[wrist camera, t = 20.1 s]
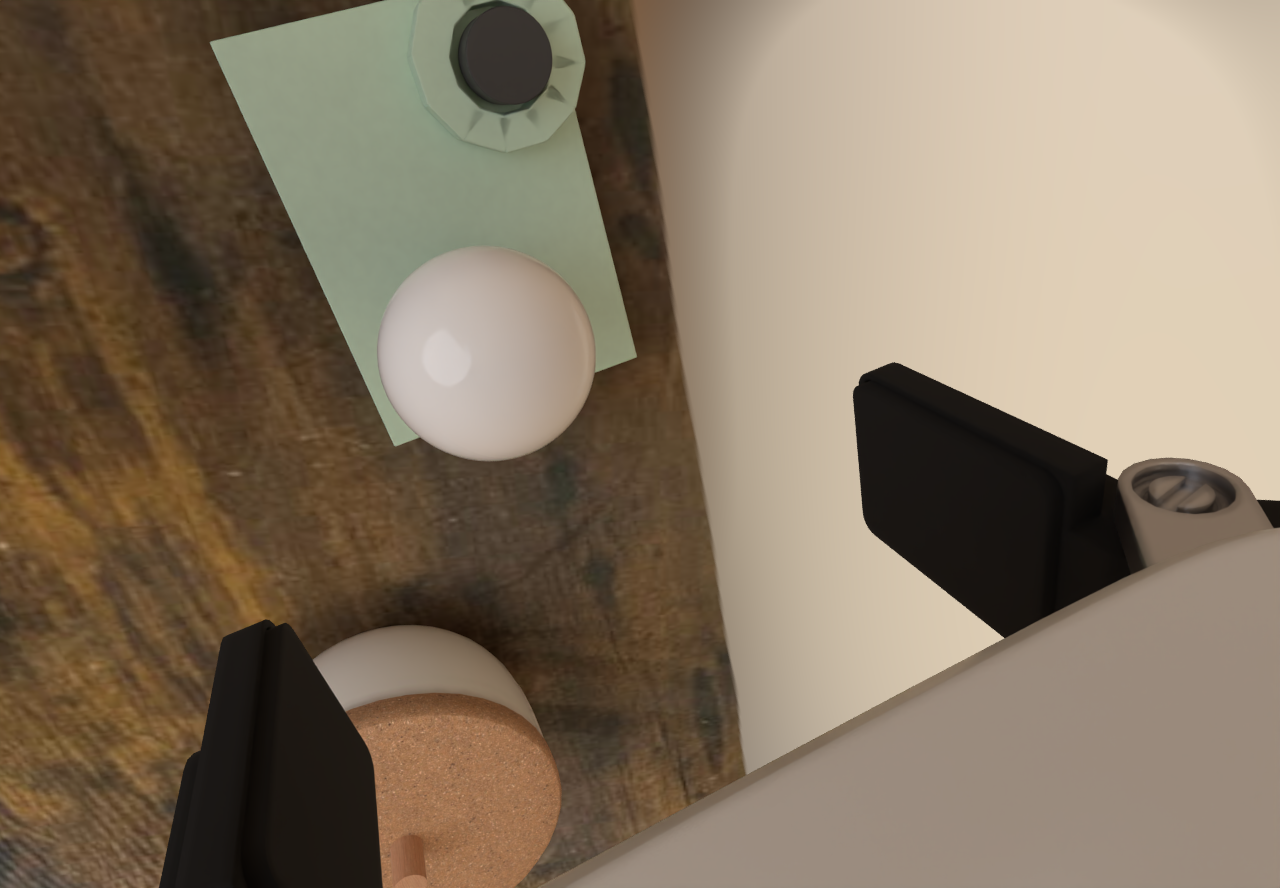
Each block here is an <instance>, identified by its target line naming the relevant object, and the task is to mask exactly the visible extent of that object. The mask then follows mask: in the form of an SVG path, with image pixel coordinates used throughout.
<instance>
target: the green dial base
mask: <svg viewBox="0 0 1280 888" xmlns="http://www.w3.org/2000/svg"><path fill="white" fill-rule="evenodd" d="M497 6H512V7H516V8H519V9H521V10H524V11H525V12H527V13H529V14H530V15H531V16H533V17H534V18H535V19H536V20H537V21H538V22H539V23H540V25H541V26H542V27H543V29H544V31H545V32H546V34H547V37H548V39H549V42H550V45H551V50H552V58H553V60H552V71H551V74H550V78H549V80H548V82H547V84H546V86H545V88H544V89H543V90H542V92H541V93H540V94H539V95H538V96H536V97H535V98H534V99H532V100H530V101H528V102H526V103H523V104H518V105H497V104H493V103H490V102H487V101H485V100H483V99H482V98H480V97H479V96H478V95H476V94H475V93H474V92H473V91H472V90H471V88H470V87H469V86H468V84H467V83H466V81H465V79H464V77H463V75H462V73H461V70H460V66H459V61H458V47H459V42H460V38H461V36H462V33H463V31H464V30H465V28H466V27H467V25H468V24H469V23H470V22H471V21H472V20H473V19H475V18H476V17H477V16H479V15H480V14H482V13H483V12H485V11H487V10H489V9H491V8H494V7H497ZM210 44H211V47H212V49H213V51H214V53H215V55H216V58H217V60H218V62H219V64H220V66H221V68H222V71H223V73H224V75H225V77H226V79H227V82H228V84H229V86H230V88H231V90H232V92H233V95H234V97H235V99H236V101H237V103H238V106H239V108H240V110H241V112H242V114H243V116H244V119H245V121H246V123H247V125H248V127H249V130H250V132H251V134H252V136H253V138H254V141H255V143H256V145H257V147H258V149H259V151H260V154H261V156H262V158H263V160H264V162H265V165H266V167H267V169H268V171H269V173H270V175H271V178H272V180H273V182H274V184H275V186H276V189H277V191H278V193H279V195H280V197H281V199H282V202H283V204H284V206H285V208H286V210H287V213H288V215H289V217H290V219H291V221H292V223H293V226H294V228H295V230H296V232H297V234H298V237H299V239H300V241H301V243H302V245H303V248H304V250H305V252H306V254H307V256H308V258H309V261H310V263H311V265H312V267H313V269H314V272H315V274H316V276H317V278H318V280H319V282H320V285H321V287H322V289H323V291H324V293H325V296H326V298H327V300H328V302H329V304H330V306H331V309H332V311H333V313H334V315H335V317H336V320H337V322H338V324H339V326H340V328H341V331H342V333H343V335H344V337H345V339H346V341H347V344H348V346H349V348H350V350H351V352H352V355H353V357H354V359H355V361H356V363H357V365H358V368H359V370H360V372H361V374H362V376H363V379H364V381H365V383H366V385H367V387H368V389H369V392H370V394H371V396H372V398H373V400H374V403H375V405H376V407H377V409H378V411H379V413H380V416H381V418H382V420H383V422H384V424H385V427H386V429H387V431H388V433H389V435H390V438H391V440H392V442H393V444H394V446H398V445H400V444H403V443H406V442H408V441H411V440H414V439H417V438H419V436H418V435H417V434H415V433H414V432H413V431H412V430H411V429H410V428H409V427H408V426H407V425H406V424H405V423H404V421H403V420H402V419H401V418H400V416H399V415H398V414H397V412H396V411H395V409H394V408H393V406H392V404H391V403H390V401H389V399H388V397H387V395H386V393H385V390H384V387H383V385H382V381H381V378H380V374H379V369H378V361H377V340H378V333H379V328H380V324H381V320H382V317H383V314H384V312H385V309H386V307H387V305H388V303H389V301H390V299H391V297H392V296H393V294H394V292H395V291H396V290H397V288H398V287H399V286H400V284H401V283H402V282H403V281H404V280H405V279H406V278H407V277H408V276H409V275H410V274H411V273H412V272H413V271H414V270H415V269H417V268H418V267H419V266H420V265H422V264H423V263H425V262H426V261H428V260H430V259H432V258H433V257H435V256H437V255H440V254H442V253H445V252H447V251H450V250H453V249H457V248H462V247H467V246H477V245H491V246H500V247H506V248H510V249H514V250H517V251H520V252H523V253H526V254H528V255H530V256H532V257H535V258H536V259H538V260H540V261H542V262H543V263H545V264H546V265H548V266H549V267H551V268H552V269H553V270H555V271H556V272H557V273H558V274H559V275H560V276H561V277H562V278H563V279H564V280H565V281H566V282H567V283H568V284H569V285H570V286H571V288H572V289H573V290H574V291H575V293H576V294H577V296H578V297H579V299H580V300H581V302H582V304H583V306H584V308H585V310H586V312H587V314H588V317H589V319H590V322H591V325H592V329H593V333H594V338H595V345H596V367H595V372H598V371H601V370H603V369H606V368H609V367H612V366H614V365H617V364H620V363H622V362H625V361H628V360H631V359H633V358H636V357H637V355H636V351H635V347H634V343H633V339H632V335H631V331H630V327H629V323H628V319H627V315H626V311H625V307H624V303H623V299H622V295H621V291H620V287H619V283H618V279H617V275H616V271H615V267H614V263H613V259H612V255H611V251H610V247H609V243H608V239H607V235H606V231H605V227H604V223H603V219H602V215H601V211H600V207H599V203H598V199H597V195H596V191H595V187H594V183H593V179H592V175H591V171H590V167H589V163H588V159H587V155H586V152H585V148H584V144H583V140H582V136H581V132H580V128H579V124H578V120H577V116H576V112H575V108H576V105H577V101H578V96H579V91H580V87H581V82H582V78H583V73H584V69H585V57H584V53H583V48H582V44H581V40H580V36H579V32H578V27H577V23H576V19H575V15H574V14H573V11H572V10H571V9H570V8H569V6H568V5H567V4H566V3H565V1H564V0H385V1H380V2H376V3H372V4H368V5H363V6H359V7H355V8H351V9H346V10H342V11H338V12H334V13H330V14H325V15H321V16H317V17H313V18H308V19H304V20H300V21H296V22H291V23H287V24H283V25H279V26H275V27H270V28H266V29H262V30H258V31H253V32H249V33H245V34H241V35H236V36H232V37H228V38H224V39H220V40H215V41H211V42H210Z"/></svg>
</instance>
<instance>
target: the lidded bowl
mask: <svg viewBox="0 0 1280 888" xmlns="http://www.w3.org/2000/svg"><path fill="white" fill-rule="evenodd" d="M313 662H314V663H315V665H316V666H317V668H318V669H319V671H320V673H321V674H322V676H323V677H324V679H325V680H326V682H327V684H328V685H329V687H330V688H331V690H332V691H333V693H334V695H335V696H336V698H337V699H338V701H339V702H340V704H341V706H342V707H343V709H344V710H345V712H346V713H347V715H348V717H349V718H350V720H351V721H352V723H353V724H354V726H355V728H356V729H357V731H358V732H359V734H360V735H361V737H362V739H363V740H364V742H365V743H366V745H367V747H368V749H369V752H370V754H371V757H372V761H373V765H374V774H375V788H376V801H377V815H378V829H379V842H380V856H381V869H382V883H383V888H514V887H515V886H516V885H517V884H518V883H519V882H520V881H521V880H522V879H523V878H524V877H525V876H526V875H527V874H528V872H529V871H530V870H531V869H532V867H533V866H534V865H535V864H536V862H537V861H538V860H539V858H540V856H541V855H542V853H543V852H544V850H545V848H546V847H547V845H548V844H549V841H550V839H551V836H552V834H553V831H554V829H555V827H556V824H557V821H558V817H559V812H560V808H561V784H560V778H559V773H558V770H557V766H556V764H555V761H554V758H553V756H552V754H551V752H550V749H549V747H548V745H547V743H546V741H545V739H544V738H543V735H542V732H541V730H540V727H539V725H538V722H537V720H536V717H535V715H534V713H533V710H532V708H531V706H530V704H529V702H528V700H527V698H526V696H525V695H524V693H523V691H522V689H521V688H520V686H519V685H518V684H517V682H516V681H515V680H514V678H513V677H512V675H511V674H510V673H509V671H508V670H507V669H506V667H505V666H504V665H503V664H502V663H501V662H500V661H499V660H498V659H497V658H496V657H494V656H493V655H492V654H491V653H490V652H489V651H487V650H486V649H485V648H484V647H482V646H481V645H479V644H477V643H476V642H474V641H472V640H471V639H469V638H467V637H464V636H462V635H459V634H457V633H454V632H451V631H449V630H445V629H441V628H436V627H432V626H422V625H395V626H389V627H383V628H377V629H374V630H370V631H367V632H363V633H360V634H357V635H355V636H352V637H350V638H348V639H345V640H343V641H341V642H339V643H337V644H336V645H334V646H332V647H330V648H329V649H327V650H325V651H324V652H322V653H321V654H320V655H318V656H317V657H316V658H314V659H313Z"/></svg>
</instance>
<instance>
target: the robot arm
mask: <svg viewBox="0 0 1280 888" xmlns="http://www.w3.org/2000/svg"><path fill="white" fill-rule="evenodd" d="M853 402H854V414H855V425H856V436H857V449H858V461H859V472H860V483H861V496H862V508H863V516H864V520H865V522H866V524H867V526H868V528H869V529H870V531H871V532H872V533H873V534H874V535H875V536H877V537H878V538H879V539H880V540H882V541H883V542H884V543H885V544H887V545H888V546H889V547H890V548H892V549H893V550H894V551H895V552H897V553H898V554H899V555H900V556H902V557H903V558H904V559H906V560H907V561H908V562H909V563H911V564H912V565H913V566H914V567H916V568H917V569H918V570H919V571H921V572H922V573H923V574H924V575H926V576H927V577H928V578H930V579H931V580H932V581H933V582H934V583H936V584H937V585H938V586H940V587H941V588H942V589H943V590H945V591H946V592H947V593H948V594H950V595H951V596H952V597H953V598H955V599H956V600H957V601H958V602H960V603H961V604H962V605H963V606H965V607H966V608H967V609H969V610H970V611H971V612H972V613H974V614H975V615H976V616H977V617H979V618H980V619H981V620H983V621H984V622H985V623H986V624H988V625H989V626H990V627H991V628H993V629H994V630H995V631H996V632H998V633H999V634H1000V635H1001V636H1003V637H1004V638H1005V639H1003V640H1001V641H999V642H997V643H995V644H993V645H991V646H989V647H987V648H986V649H984V650H982V651H980V652H978V653H976V654H974V655H972V656H971V657H968V658H967V659H965V660H963V661H961V662H959V663H957V664H955V665H953V666H951V667H949V668H947V669H946V670H944V671H942V672H940V673H938V674H936V675H934V676H932V677H930V678H928V679H927V680H925V681H923V682H921V683H919V684H917V685H915V686H913V687H911V688H909V689H907V690H906V691H904V692H902V693H900V694H898V695H896V696H894V697H892V698H890V699H889V700H887V701H885V702H883V703H881V704H879V705H877V706H875V707H873V708H872V709H870V710H868V711H866V712H864V713H862V714H860V715H858V716H857V717H855V718H853V719H851V720H849V721H847V722H845V723H843V724H841V725H840V726H838V727H836V728H834V729H832V730H830V731H828V732H826V733H824V734H823V735H821V736H819V737H817V738H815V739H813V740H811V741H810V742H808V743H806V744H804V745H802V746H800V747H798V748H796V749H794V750H793V751H791V752H789V753H787V754H785V755H783V756H781V757H779V758H778V759H776V760H774V761H772V762H770V763H768V764H767V765H764V766H763V767H761V768H759V769H757V770H755V771H753V772H751V773H749V774H748V775H746V776H744V777H742V778H740V779H738V780H736V781H734V782H733V783H731V784H729V785H727V786H725V787H723V788H721V789H719V790H718V791H716V792H714V793H712V794H710V795H708V796H706V797H705V798H703V799H701V800H699V801H697V802H695V803H693V804H692V805H690V806H688V807H686V808H684V809H682V810H680V811H679V812H677V813H675V814H673V815H671V816H669V817H667V818H666V819H664V820H662V821H660V822H658V823H656V824H654V825H653V826H651V827H649V828H647V829H645V830H643V831H641V832H640V833H638V834H636V835H634V836H632V837H630V838H629V839H627V840H625V841H623V842H621V843H619V844H617V845H616V846H614V847H612V848H610V849H608V850H606V851H604V852H603V853H601V854H599V855H597V856H595V857H593V858H591V859H590V860H588V861H586V862H584V863H582V864H580V865H578V866H577V867H575V868H573V869H571V870H569V871H567V872H565V873H564V874H562V875H560V876H558V877H556V878H554V879H552V880H551V881H549V882H547V883H545V884H543V885H541V886H540V887H538V888H1280V501H1273V500H1272V501H1271V500H1256V498H1255V496H1254V495H1253V493H1252V491H1251V490H1250V488H1249V487H1248V486H1247V485H1246V484H1245V483H1244V482H1243V480H1242V479H1241V478H1239V477H1238V476H1236V475H1234V474H1233V473H1231V472H1229V471H1228V470H1226V469H1223V468H1221V467H1217V466H1215V465H1212V464H1209V463H1206V462H1200V461H1196V460H1190V459H1181V458H1159V459H1150V460H1145V461H1142V462H1139V463H1135V464H1133V465H1131V466H1130V467H1128V468H1127V469H1125V470H1123V472H1122V473H1121V475H1120V477H1119V478H1118V480H1117V479H1115V478H1113V477H1111V476H1109V475H1107V474H1106V471H1107V461H1108V460H1107V459H1105V458H1103V457H1101V456H1099V455H1096V454H1094V453H1092V452H1090V451H1088V450H1085V449H1083V448H1081V447H1079V446H1077V445H1075V444H1072V443H1070V442H1068V441H1066V440H1064V439H1061V438H1059V437H1057V436H1055V435H1053V434H1051V433H1049V432H1046V431H1044V430H1042V429H1040V428H1038V427H1036V426H1033V425H1031V424H1029V423H1027V422H1025V421H1022V420H1020V419H1018V418H1016V417H1014V416H1012V415H1009V414H1007V413H1005V412H1003V411H1001V410H999V409H997V408H994V407H992V406H990V405H988V404H986V403H984V402H981V401H979V400H977V399H975V398H973V397H971V396H968V395H966V394H964V393H962V392H960V391H957V390H955V389H953V388H951V387H949V386H946V385H944V384H942V383H940V382H938V381H936V380H934V379H931V378H929V377H927V376H925V375H923V374H921V373H919V372H916V371H914V370H912V369H910V368H908V367H905V366H903V365H901V364H899V363H895V362H894V363H890V364H887V365H885V366H883V367H880V368H878V369H875V370H873V371H870V372H868V373H866V374H863V375H862V376H861V378H860V380H859V386H856V387H855V389H854V391H853ZM159 888H383V883H382V869H381V856H380V842H379V829H378V815H377V801H376V788H375V774H374V765H373V761H372V757H371V754H370V752H369V749H368V747H367V745H366V743H365V742H364V740H363V739H362V737H361V735H360V734H359V732H358V731H357V729H356V728H355V726H354V724H353V723H352V721H351V720H350V718H349V717H348V715H347V713H346V712H345V710H344V709H343V707H342V706H341V704H340V702H339V701H338V699H337V698H336V696H335V695H334V693H333V691H332V690H331V688H330V687H329V685H328V684H327V682H326V680H325V679H324V677H323V676H322V674H321V673H320V671H319V669H318V668H317V666H316V665H315V663H314V662H313V660H312V658H311V657H310V655H309V654H308V652H307V651H306V649H305V647H304V646H303V644H302V643H301V641H300V640H299V638H298V636H297V635H296V633H295V632H294V630H293V629H292V627H291V626H290V625H289V624H287V623H283V624H281V625H278V626H275V625H274V624H273V623H272V622H271V621H270V620H263V621H261V622H259V623H256V624H254V625H251V626H249V627H246V628H244V629H242V630H239V631H237V632H234V633H232V634H229V635H227V636H225V637H224V638H223V639H222V642H221V646H220V652H219V657H218V662H217V667H216V673H215V678H214V683H213V688H212V694H211V699H210V704H209V709H208V715H207V720H206V725H205V730H204V736H203V741H202V746H201V751H198V752H196V753H194V754H193V755H192V756H191V757H190V758H189V759H188V760H187V763H186V765H185V768H184V771H183V776H182V781H181V786H180V790H179V795H178V800H177V805H176V809H175V814H174V819H173V824H172V829H171V833H170V838H169V843H168V848H167V852H166V857H165V862H164V867H163V871H162V876H161V881H160V886H159Z"/></svg>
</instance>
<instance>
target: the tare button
mask: <svg viewBox="0 0 1280 888" xmlns="http://www.w3.org/2000/svg"><path fill="white" fill-rule="evenodd" d="M552 60H553V58H552V50H551V45H550V42H549V39H548V37H547V34H546V32H545V31H544V29H543V27H542V26H541V25H540V23H539V22H538V21H537V20H536V19H535V18H534V17H533V16H531V15H530V14H529V13H527V12H525V11H524V10H521V9H519V8H516V7H512V6H497V7H494V8H491V9H489V10H487V11H485V12H483V13H482V14H480V15H479V16H477V17H476V18H475V19H473V20H472V21H471V22H470V23H469V24H468V25H467V27H466V28H465V30H464V31H463V33H462V36H461V38H460V42H459V47H458V61H459V66H460V70H461V73H462V75H463V77H464V79H465V81H466V83H467V84H468V86H469V87H470V88H471V90H472V91H473V92H474V93H475V94H476V95H478V96H479V97H480V98H482V99H483V100H485V101H487V102H490V103H493V104H497V105H518V104H523V103H526V102H528V101H530V100H532V99H534V98H535V97H536V96H538V95H539V94H540V93H541V92H542V90H543V89H544V88H545V86H546V84H547V82H548V80H549V78H550V74H551V71H552Z"/></svg>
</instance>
